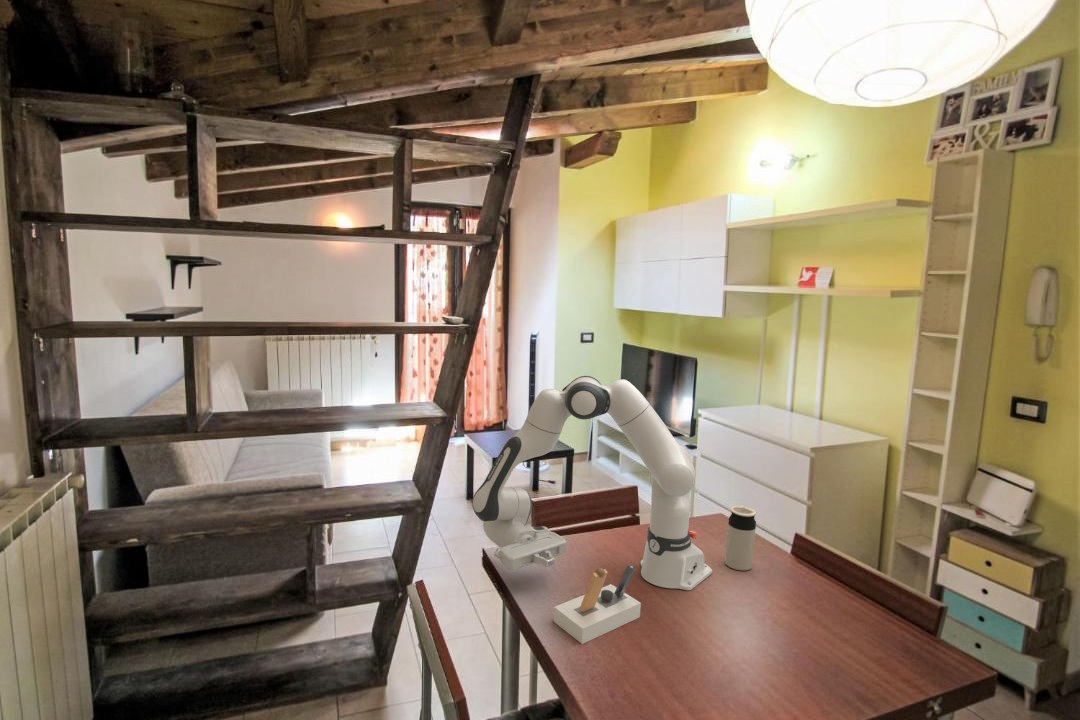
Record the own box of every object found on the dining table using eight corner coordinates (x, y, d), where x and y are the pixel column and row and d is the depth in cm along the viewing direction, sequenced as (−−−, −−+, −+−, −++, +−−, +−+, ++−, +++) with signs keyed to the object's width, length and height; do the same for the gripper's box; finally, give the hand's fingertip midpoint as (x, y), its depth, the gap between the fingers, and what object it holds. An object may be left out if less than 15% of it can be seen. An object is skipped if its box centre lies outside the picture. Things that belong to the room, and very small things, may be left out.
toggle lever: (618, 589, 154) (632, 561, 149) (624, 596, 152) (638, 568, 148) (612, 592, 152) (625, 563, 148) (618, 599, 151) (631, 570, 146)
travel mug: (748, 574, 176) (753, 517, 173) (721, 566, 180) (726, 511, 177) (754, 563, 182) (759, 509, 180) (728, 556, 186) (733, 503, 184)
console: (610, 597, 159) (611, 583, 159) (639, 617, 151) (640, 602, 150) (553, 621, 147) (554, 606, 147) (581, 644, 139) (582, 627, 138)
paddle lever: (590, 602, 148) (604, 564, 143) (595, 608, 146) (610, 570, 141) (578, 607, 145) (592, 568, 140) (583, 613, 144) (598, 575, 139)
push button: (606, 593, 152) (607, 588, 152) (614, 598, 150) (615, 593, 150) (598, 597, 150) (598, 592, 150) (606, 602, 148) (606, 597, 148)
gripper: (491, 541, 161) (520, 562, 150) (549, 524, 173) (579, 543, 162) (490, 562, 161) (519, 584, 151) (548, 544, 174) (578, 564, 163)
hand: (551, 562), depth 156 cm, fingers closed
